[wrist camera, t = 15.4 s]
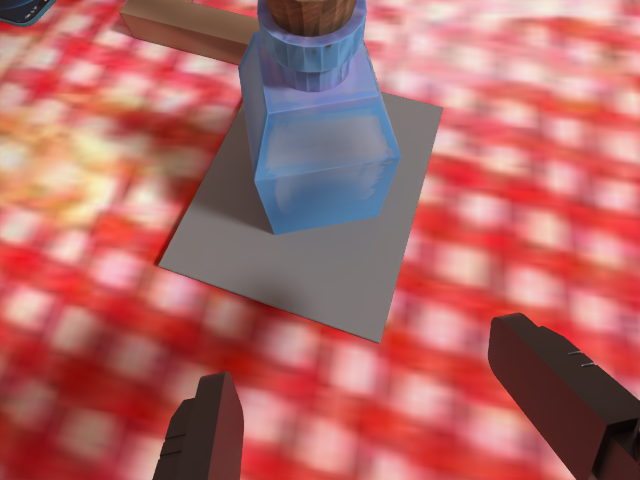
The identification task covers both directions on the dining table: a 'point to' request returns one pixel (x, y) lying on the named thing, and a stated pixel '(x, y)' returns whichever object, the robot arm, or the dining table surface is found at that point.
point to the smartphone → (23, 11)
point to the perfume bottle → (315, 115)
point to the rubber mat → (305, 235)
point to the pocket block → (191, 27)
